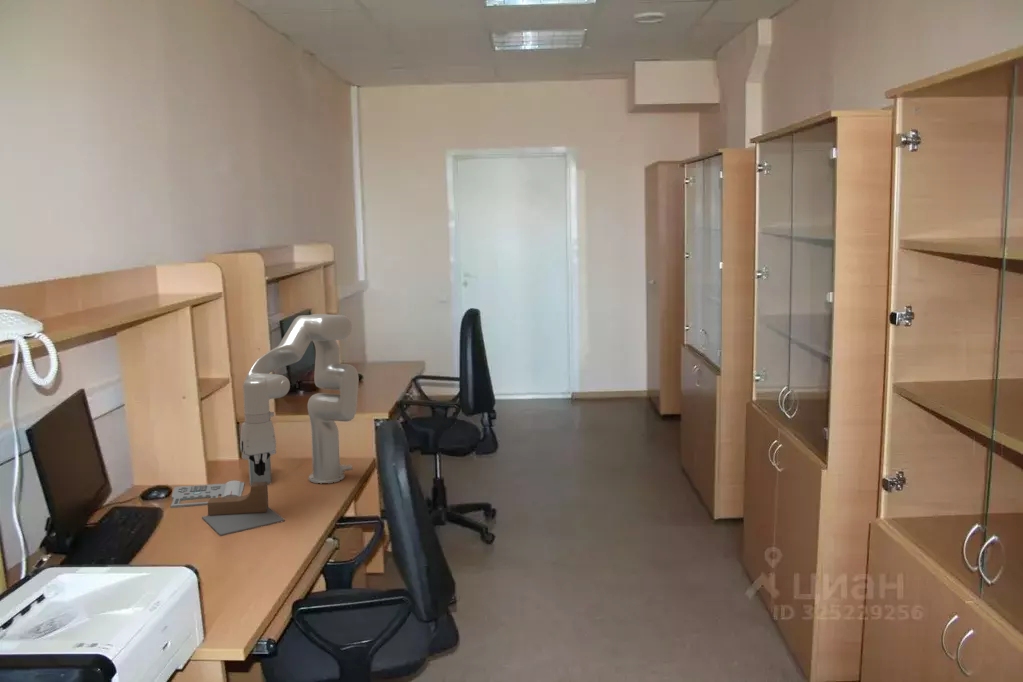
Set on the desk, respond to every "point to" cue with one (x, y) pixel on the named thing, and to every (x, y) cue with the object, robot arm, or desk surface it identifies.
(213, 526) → the mat
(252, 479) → the hard drive box
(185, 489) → the office telephone
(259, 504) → the wooden block
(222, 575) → the desk surface
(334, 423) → the robot arm
